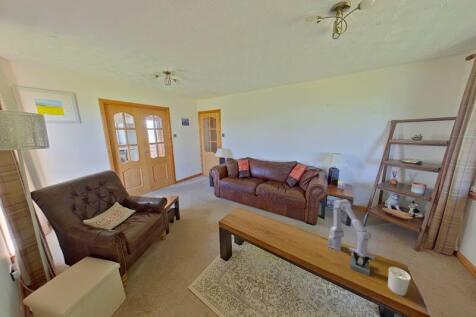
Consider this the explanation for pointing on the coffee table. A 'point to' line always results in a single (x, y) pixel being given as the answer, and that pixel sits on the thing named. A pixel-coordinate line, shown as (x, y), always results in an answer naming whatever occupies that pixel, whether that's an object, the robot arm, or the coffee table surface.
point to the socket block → (363, 270)
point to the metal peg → (360, 261)
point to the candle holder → (398, 280)
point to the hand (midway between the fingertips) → (360, 263)
